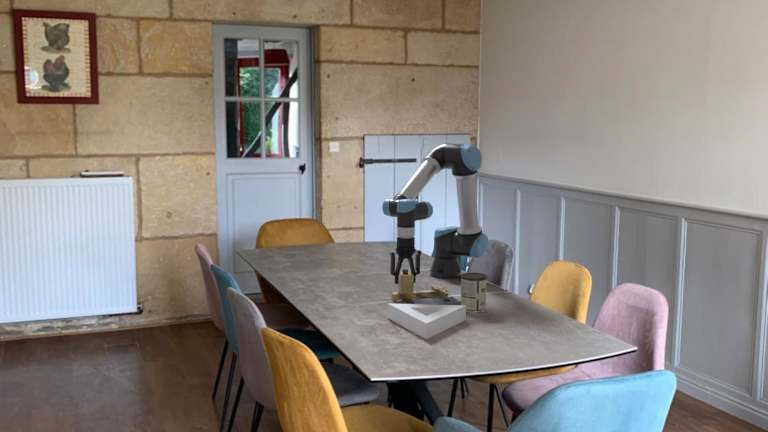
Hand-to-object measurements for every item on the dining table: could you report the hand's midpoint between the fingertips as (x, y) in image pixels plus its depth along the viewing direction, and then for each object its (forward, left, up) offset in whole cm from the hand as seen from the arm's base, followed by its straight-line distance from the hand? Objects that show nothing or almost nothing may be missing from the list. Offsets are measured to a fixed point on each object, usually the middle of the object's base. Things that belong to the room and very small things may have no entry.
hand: (404, 290), depth 330 cm
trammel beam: (-6, +4, -4) cm, 9 cm away
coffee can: (-21, +22, -4) cm, 31 cm away
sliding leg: (0, +4, -2) cm, 5 cm away
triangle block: (+7, +35, -5) cm, 36 cm away
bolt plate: (-6, +11, -4) cm, 13 cm away
